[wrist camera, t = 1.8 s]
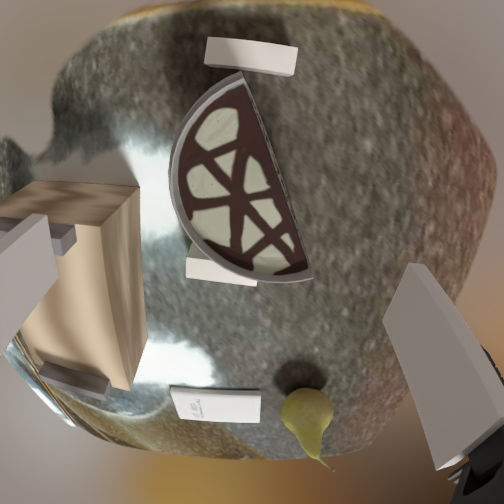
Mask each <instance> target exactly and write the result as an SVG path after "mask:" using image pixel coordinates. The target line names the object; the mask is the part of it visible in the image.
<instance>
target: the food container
mask: <svg viewBox="0 0 504 504" xmlns="http://www.w3.org/2000/svg"><path fill="white" fill-rule="evenodd" d="M168 175H169V190H170V195H171V199H172V204H173V207H174V210H175V212H176V215H177V217H178V220H179V221H180V223H181V225H182V227H183V228H184V230H185V232H186V233H187V235H188V236H189V238H190V239H191V240H192V241H193V243H194V244H195V245H196V246H197V247H198V249H199V250H200V251H201V252H203V253H204V254H205V255H206V256H207V257H208V258H209V259H210V260H212V261H213V262H215V263H216V264H218V265H219V266H221V267H222V268H224V269H226V270H228V271H230V272H232V273H234V274H236V275H239V276H242V277H245V278H248V279H251V280H255V281H261V282H267V283H292V282H301V281H305V280H309V279H314V277H313V273H312V270H311V266H310V263H309V260H308V256H307V253H306V250H305V246H304V243H303V240H302V236H301V233H300V230H299V227H298V223H297V220H296V217H295V214H294V211H293V207H292V204H291V201H290V198H289V195H288V192H287V189H286V186H285V183H284V180H283V178H282V175H281V172H280V169H279V166H278V163H277V160H276V158H275V155H274V152H273V149H272V146H271V144H270V141H269V138H268V135H267V133H266V130H265V127H264V125H263V122H262V119H261V117H260V114H259V111H258V109H257V106H256V104H255V101H254V98H253V96H252V94H251V91H250V89H249V87H248V85H247V83H246V81H245V79H244V76H243V73H242V71H239V72H237V73H235V74H233V75H230V76H228V77H226V78H224V79H223V80H221V81H220V82H218V83H217V84H215V85H214V86H212V87H211V88H209V89H208V90H207V91H206V92H205V93H204V94H203V95H202V96H201V97H200V98H199V99H198V100H197V101H196V102H195V103H194V104H193V106H192V107H191V108H190V110H189V111H188V113H187V114H186V115H185V117H184V119H183V121H182V123H181V125H180V127H179V129H178V131H177V133H176V136H175V140H174V143H173V146H172V150H171V154H170V162H169V170H168Z"/></svg>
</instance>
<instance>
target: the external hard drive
mask: <svg viewBox="0 0 504 504" xmlns="http://www.w3.org/2000/svg"><path fill="white" fill-rule="evenodd" d="M170 393H171V396H172V399H173V401H174V404H175V407H176V410H177V412H178V415H179V418H180V419H191V420H202V421H217V422H241V423H260V405H261V391H239V390H210V389H193V388H180V387H171V390H170Z"/></svg>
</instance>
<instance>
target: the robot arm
mask: <svg viewBox="0 0 504 504" xmlns="http://www.w3.org/2000/svg"><path fill="white" fill-rule="evenodd" d="M58 278H59V276H58V271H57V267H56V262H55V257H54V253H53V247H52V242H51V236H50V230H49V224H48V217H47V215H43V214H34V213H33V214H31V215H30V216H29V217H27V218H26V219H25V220H23V221H22V222H21V223H19V224H18V225H17V226H16V227H14V228H13V229H12V230H11V231H9V232H8V233H7V234H6V235H5V236H3V237H2V238H1V239H0V357H1V356H2V354H3V352H4V351H5V349H6V348H7V346H8V345H9V343H10V342H11V340H12V339H13V338H14V336H15V335H16V333H17V332H18V330H19V329H20V328H21V326H22V325H23V323H24V322H25V321H26V319H27V318H28V316H29V315H30V314H31V312H32V311H33V310H34V308H35V307H36V306H37V304H38V303H39V302H40V301H41V299H42V298H43V297H44V295H45V294H46V293H47V292H48V290H49V289H50V288H51V287H52V285H53V284H54V283H55V282H56V280H57V279H58ZM382 322H383V324H384V326H385V329H386V331H387V333H388V336H389V338H390V341H391V343H392V345H393V348H394V350H395V353H396V355H397V358H398V360H399V363H400V365H401V368H402V370H403V373H404V376H405V378H406V381H407V383H408V386H409V389H410V392H411V394H412V397H413V400H414V402H415V405H416V408H417V411H418V414H419V417H420V420H421V423H422V426H423V429H424V432H425V435H426V438H427V441H428V445H429V448H430V451H431V454H432V458H433V461H434V465H435V468H436V470H439V469H442V468H445V467H448V466H451V465H455V464H456V463H457V462H459V461H460V460H461V459H463V458H464V457H465V456H467V455H468V457H469V461H468V462H467V463H465V464H464V465H462V466H461V467H460V468H458V469H457V470H455V471H454V472H453V473H451V474H450V476H449V477H448V480H451V479H453V478H454V477H456V476H457V475H459V474H460V473H461V475H460V476H459V477H458V478H456V479H455V480H454V481H453V482H454V483H456V484H457V486H456V489H455V492H454V495H453V497H452V499H451V502H450V504H504V380H503V378H502V377H501V374H500V372H499V371H498V369H497V368H495V363H494V362H493V360H492V358H491V357H490V355H489V353H488V352H487V351H486V350H485V349H484V348H483V347H482V346H481V345H480V344H479V342H478V341H477V339H476V338H475V336H474V334H473V333H472V331H471V330H470V328H469V327H468V325H467V323H466V322H465V321H464V319H463V317H462V316H461V314H460V313H459V312H458V310H457V309H456V307H455V306H454V304H453V303H452V301H451V300H450V298H449V297H448V296H447V294H446V293H445V291H444V290H443V289H442V287H441V286H440V285H439V283H438V282H437V280H436V279H435V278H434V276H433V275H432V274H431V272H430V271H429V270H428V269H427V267H426V266H425V265H422V264H415V263H408V265H407V267H406V270H405V272H404V274H403V277H402V279H401V281H400V284H399V286H398V288H397V290H396V292H395V295H394V297H393V299H392V301H391V303H390V305H389V307H388V309H387V311H386V313H385V315H384V317H383V319H382Z"/></svg>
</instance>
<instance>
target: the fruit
mask: <svg viewBox="0 0 504 504" xmlns="http://www.w3.org/2000/svg"><path fill="white" fill-rule="evenodd" d="M332 416H333V406H332V403H331V401H330V399H329V398H328V396H327V395H326V394H325V393H323V392H321V391H319V390H316V389H312V388H300V389H297V390H295V391H293V392H292V393H290V394H289V395H288V396H287V397H286V398H285V400H284V402H283V404H282V406H281V418H282V421H283V422H284V424H285V425H286V426H287V428H289V429H290V430H291V431H292V432H293V433H294V434H295V436H296V437H297V439H298V440H299V442H300V444H301V446H302V447H303V449H304V450H305V452H306V453H307V454H308V455H309V456H310V457H311V458H314V459H318V460H319V461H320V462H321V463H323V464H324V465H325V466H326V467H327V468H329V469H330V470H331V471H333V472H334V470H335V468H334V467H332V466H331V465H329V464H327V463H326V462H324V461H323V459H322V458H321V457H320V447H321V439H322V434H323V431H324V430H325V429H326V427H327V426H328V425H329V423H330V421H331V419H332Z"/></svg>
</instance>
